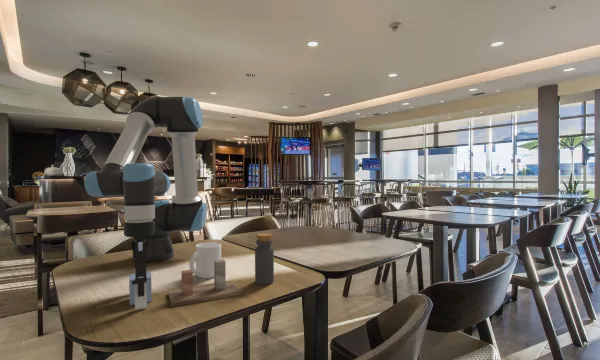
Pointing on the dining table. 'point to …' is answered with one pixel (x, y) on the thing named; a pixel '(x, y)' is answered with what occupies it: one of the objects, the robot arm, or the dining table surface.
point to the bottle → (264, 260)
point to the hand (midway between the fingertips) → (140, 299)
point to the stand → (203, 288)
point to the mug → (205, 259)
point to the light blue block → (132, 288)
